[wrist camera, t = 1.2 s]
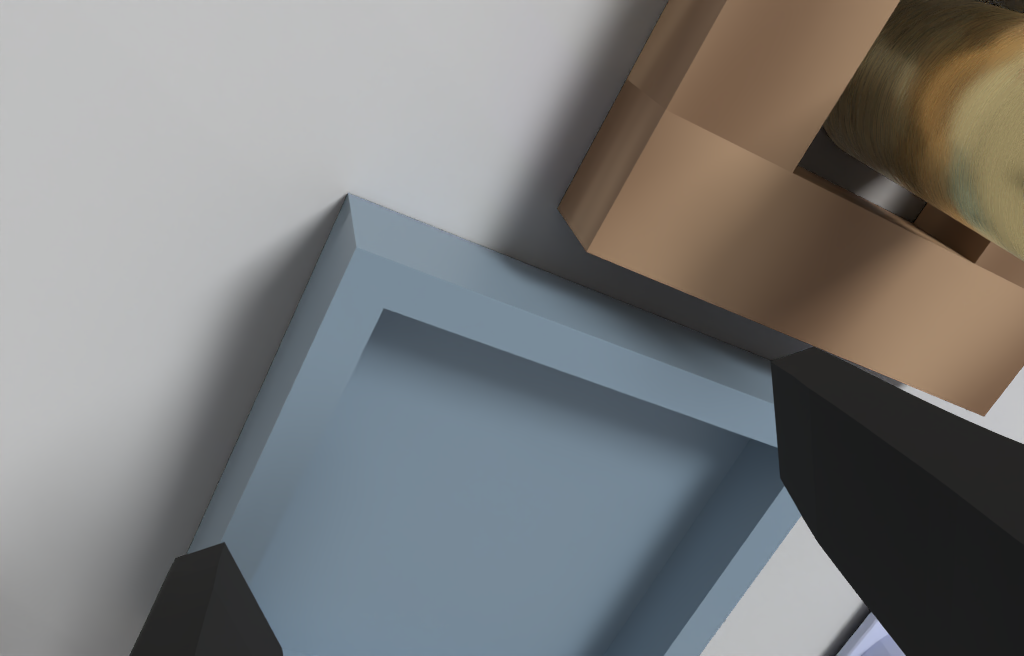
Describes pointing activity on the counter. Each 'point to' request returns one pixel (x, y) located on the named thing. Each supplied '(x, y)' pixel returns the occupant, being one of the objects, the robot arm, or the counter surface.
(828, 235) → the walnut socket block
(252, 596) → the robot arm
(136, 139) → the counter surface
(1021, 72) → the brass peg
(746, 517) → the slate-blue tray
